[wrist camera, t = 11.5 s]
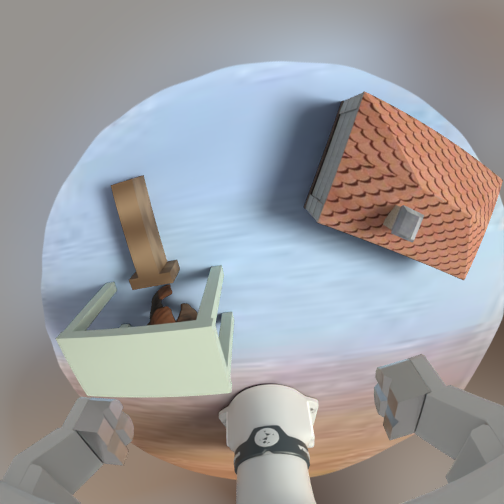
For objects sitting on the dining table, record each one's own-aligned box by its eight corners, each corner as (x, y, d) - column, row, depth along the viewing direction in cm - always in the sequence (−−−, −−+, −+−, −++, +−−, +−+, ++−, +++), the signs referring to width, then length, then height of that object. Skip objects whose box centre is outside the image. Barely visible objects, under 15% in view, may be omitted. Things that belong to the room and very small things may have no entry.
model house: (301, 209, 40) (329, 243, 26) (340, 101, 36) (388, 80, 21) (433, 260, 43) (488, 302, 29) (467, 171, 38) (533, 188, 24)
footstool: (235, 319, 46) (231, 392, 31) (123, 332, 46) (87, 395, 32) (223, 264, 43) (211, 326, 28) (104, 283, 43) (55, 338, 29)
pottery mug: (180, 267, 43) (198, 307, 37) (213, 301, 49) (232, 338, 43) (119, 313, 42) (127, 356, 36) (156, 340, 49) (169, 379, 43)
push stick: (179, 269, 43) (173, 282, 39) (142, 276, 43) (132, 290, 39) (153, 172, 38) (142, 175, 34) (114, 184, 39) (100, 188, 34)
